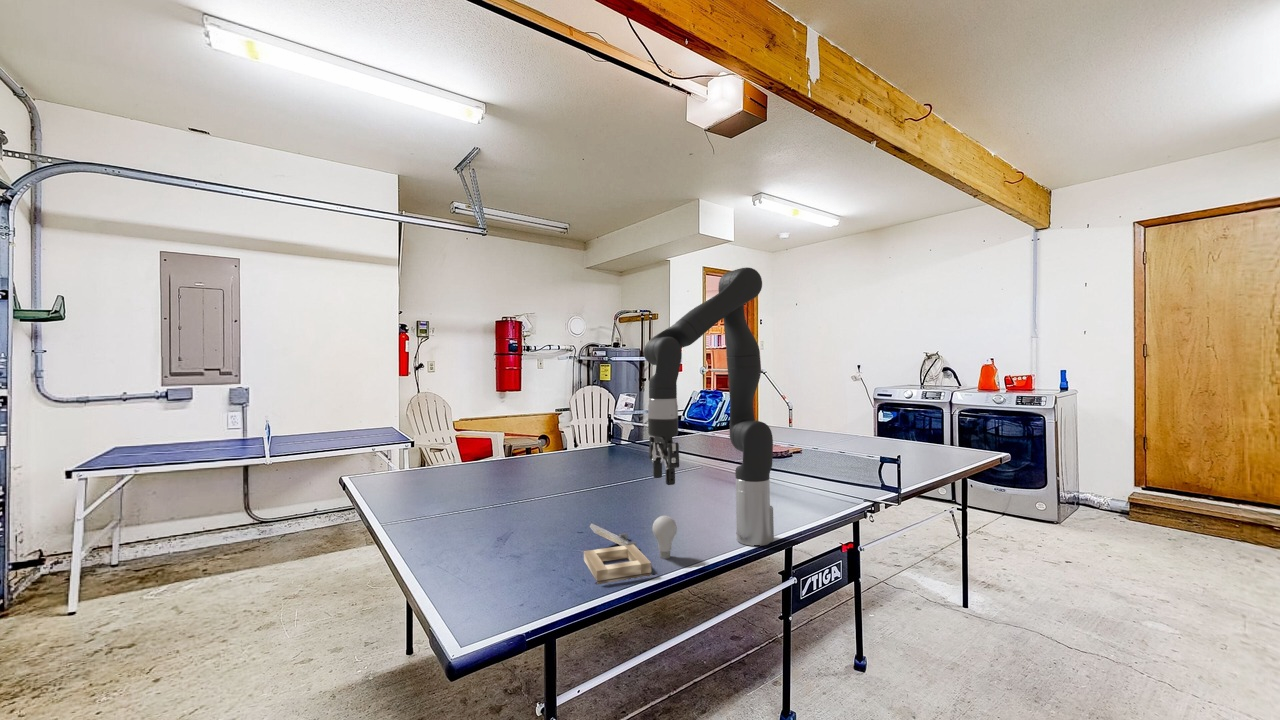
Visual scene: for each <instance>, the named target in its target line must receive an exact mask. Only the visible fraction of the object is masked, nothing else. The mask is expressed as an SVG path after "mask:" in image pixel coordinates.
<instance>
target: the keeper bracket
mask: <svg viewBox="0 0 1280 720" xmlns="http://www.w3.org/2000/svg"><path fill="white" fill-rule="evenodd" d="M618 536H620V537H622V538H624V539H627V540H628V539H629V537H628V536H629V535H628V533H627V532H623V533H619V535H618ZM628 541H629V540H628ZM632 544H634V545H635V546H636V547H637V542H636V541H629V543H628V545H632Z"/></svg>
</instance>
